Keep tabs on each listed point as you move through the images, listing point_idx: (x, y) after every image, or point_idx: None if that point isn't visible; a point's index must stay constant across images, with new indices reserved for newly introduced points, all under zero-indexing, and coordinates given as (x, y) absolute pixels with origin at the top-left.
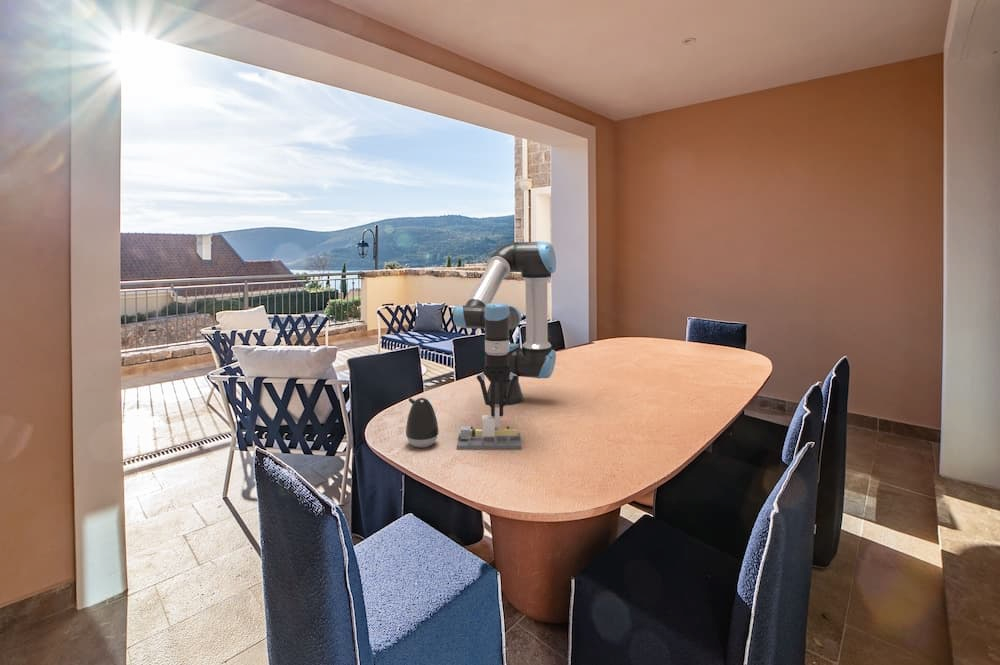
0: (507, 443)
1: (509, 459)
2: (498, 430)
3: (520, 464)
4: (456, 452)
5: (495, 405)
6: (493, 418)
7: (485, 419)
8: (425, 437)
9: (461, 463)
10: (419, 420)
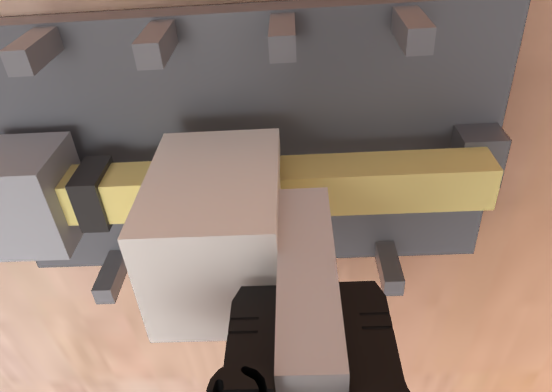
0: (378, 265)
1: None
2: None
3: (422, 378)
4: (66, 283)
5: (286, 389)
6: None
7: (187, 338)
8: None
9: (141, 377)
10: None
